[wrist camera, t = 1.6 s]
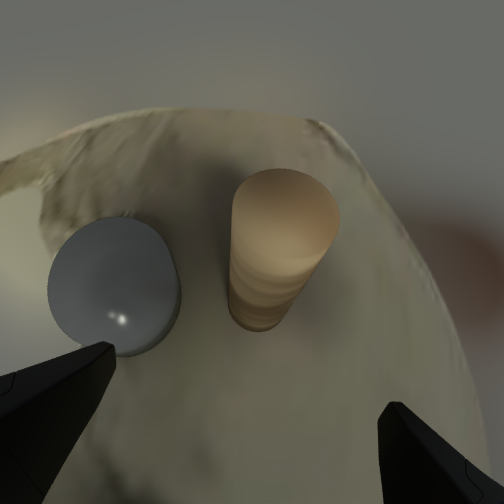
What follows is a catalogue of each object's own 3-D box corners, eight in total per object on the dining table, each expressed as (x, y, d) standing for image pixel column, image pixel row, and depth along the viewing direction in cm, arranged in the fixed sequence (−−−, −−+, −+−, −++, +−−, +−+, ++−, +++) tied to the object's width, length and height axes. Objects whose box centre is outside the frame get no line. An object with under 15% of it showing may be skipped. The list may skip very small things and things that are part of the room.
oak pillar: (256, 343, 22) (289, 280, 11) (216, 301, 23) (209, 202, 12) (297, 305, 23) (358, 215, 12) (258, 267, 25) (285, 155, 14)
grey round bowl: (109, 382, 19) (87, 377, 15) (54, 286, 22) (31, 267, 18) (207, 304, 23) (203, 286, 19) (138, 222, 26) (127, 195, 22)
